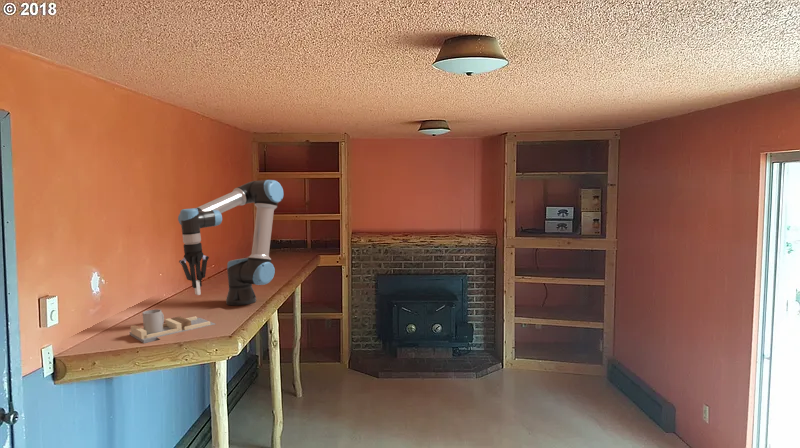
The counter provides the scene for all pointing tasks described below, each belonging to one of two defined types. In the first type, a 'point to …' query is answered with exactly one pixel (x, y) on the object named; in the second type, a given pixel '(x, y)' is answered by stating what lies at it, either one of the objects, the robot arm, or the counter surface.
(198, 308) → the counter surface
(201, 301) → the counter surface
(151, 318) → the cup
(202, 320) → the jig
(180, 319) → the brown rounded bar
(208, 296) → the counter surface
